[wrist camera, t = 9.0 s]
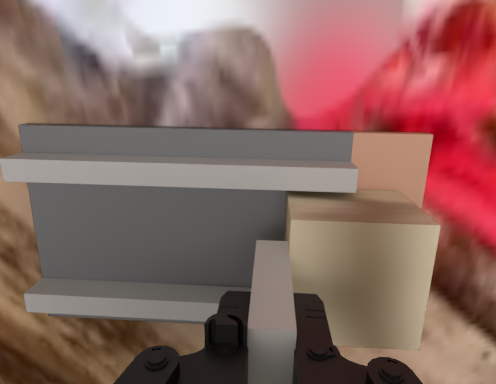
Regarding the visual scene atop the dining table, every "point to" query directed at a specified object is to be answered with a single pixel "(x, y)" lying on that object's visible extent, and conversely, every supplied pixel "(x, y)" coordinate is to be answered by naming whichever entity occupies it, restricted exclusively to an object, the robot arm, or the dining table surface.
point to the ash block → (363, 263)
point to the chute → (181, 207)
